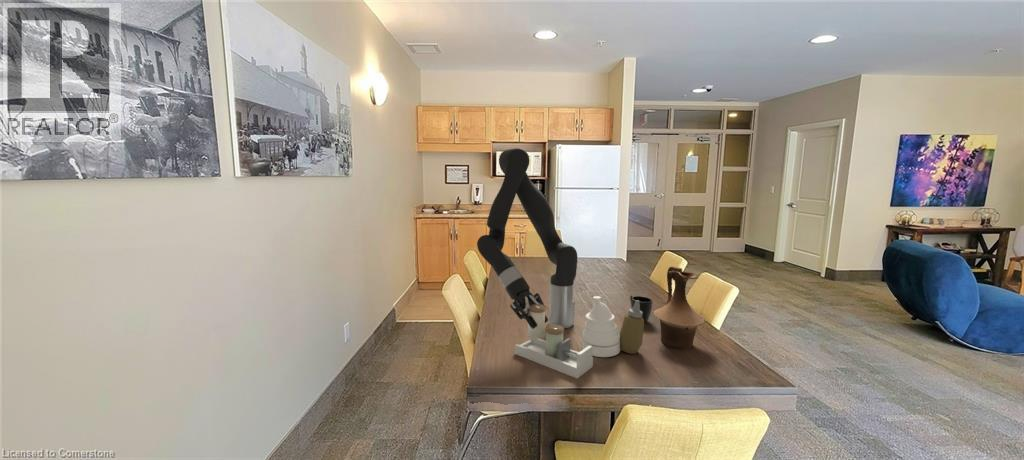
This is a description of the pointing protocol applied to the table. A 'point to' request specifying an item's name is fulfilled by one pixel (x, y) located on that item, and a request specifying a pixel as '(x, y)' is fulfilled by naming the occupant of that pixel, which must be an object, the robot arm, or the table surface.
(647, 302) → the mug
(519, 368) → the table surface
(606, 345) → the honey pot
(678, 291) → the pitcher
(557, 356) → the pusher
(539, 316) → the cream jar
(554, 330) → the sage jar
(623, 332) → the squeeze bottle
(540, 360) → the jar lane
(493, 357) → the table surface
